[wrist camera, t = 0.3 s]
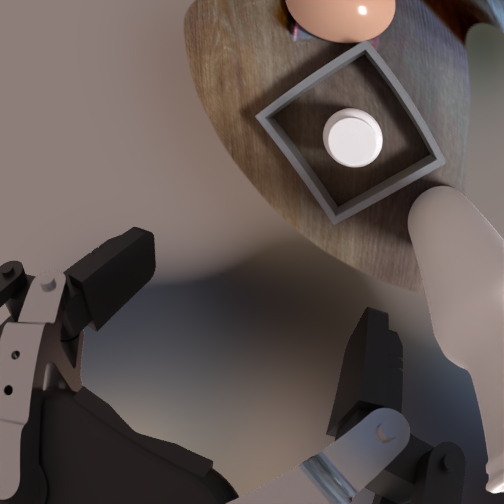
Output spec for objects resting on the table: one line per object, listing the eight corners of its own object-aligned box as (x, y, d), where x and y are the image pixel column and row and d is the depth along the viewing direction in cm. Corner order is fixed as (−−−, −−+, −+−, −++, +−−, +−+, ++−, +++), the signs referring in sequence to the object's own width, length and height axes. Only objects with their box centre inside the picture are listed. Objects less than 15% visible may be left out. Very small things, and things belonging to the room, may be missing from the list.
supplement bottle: (342, 162, 31) (336, 184, 23) (320, 119, 29) (306, 124, 21) (384, 145, 28) (396, 161, 20) (364, 100, 26) (367, 98, 18)
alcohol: (430, 169, 27) (579, 417, 3) (482, 209, 26) (605, 434, 2) (393, 230, 32) (403, 507, 8) (444, 263, 31) (489, 506, 7)
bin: (365, 45, 23) (366, 39, 20) (439, 157, 26) (446, 162, 23) (263, 114, 31) (254, 116, 28) (335, 215, 34) (333, 225, 31)
